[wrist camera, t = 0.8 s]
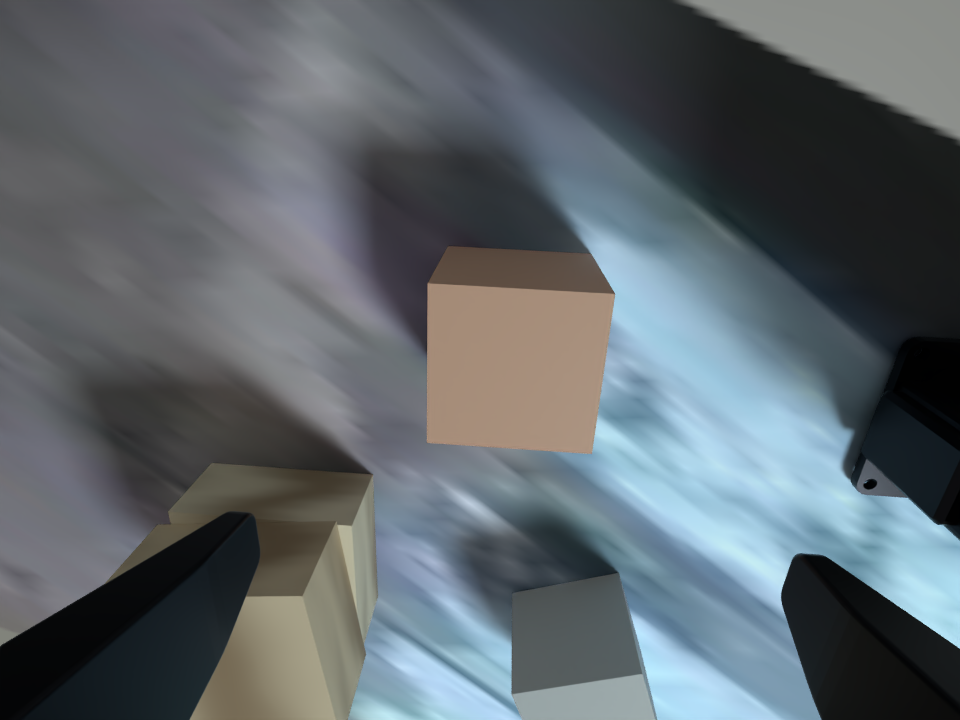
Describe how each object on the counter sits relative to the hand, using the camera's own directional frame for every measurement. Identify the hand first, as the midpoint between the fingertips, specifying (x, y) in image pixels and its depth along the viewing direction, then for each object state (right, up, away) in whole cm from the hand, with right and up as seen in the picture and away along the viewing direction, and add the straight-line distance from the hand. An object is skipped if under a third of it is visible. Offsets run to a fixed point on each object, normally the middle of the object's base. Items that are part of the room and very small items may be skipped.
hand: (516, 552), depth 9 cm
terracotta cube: (+1, +5, +11) cm, 12 cm away
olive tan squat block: (-9, -4, +16) cm, 19 cm away
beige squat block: (-9, -6, +13) cm, 17 cm away
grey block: (+4, -9, +17) cm, 20 cm away
